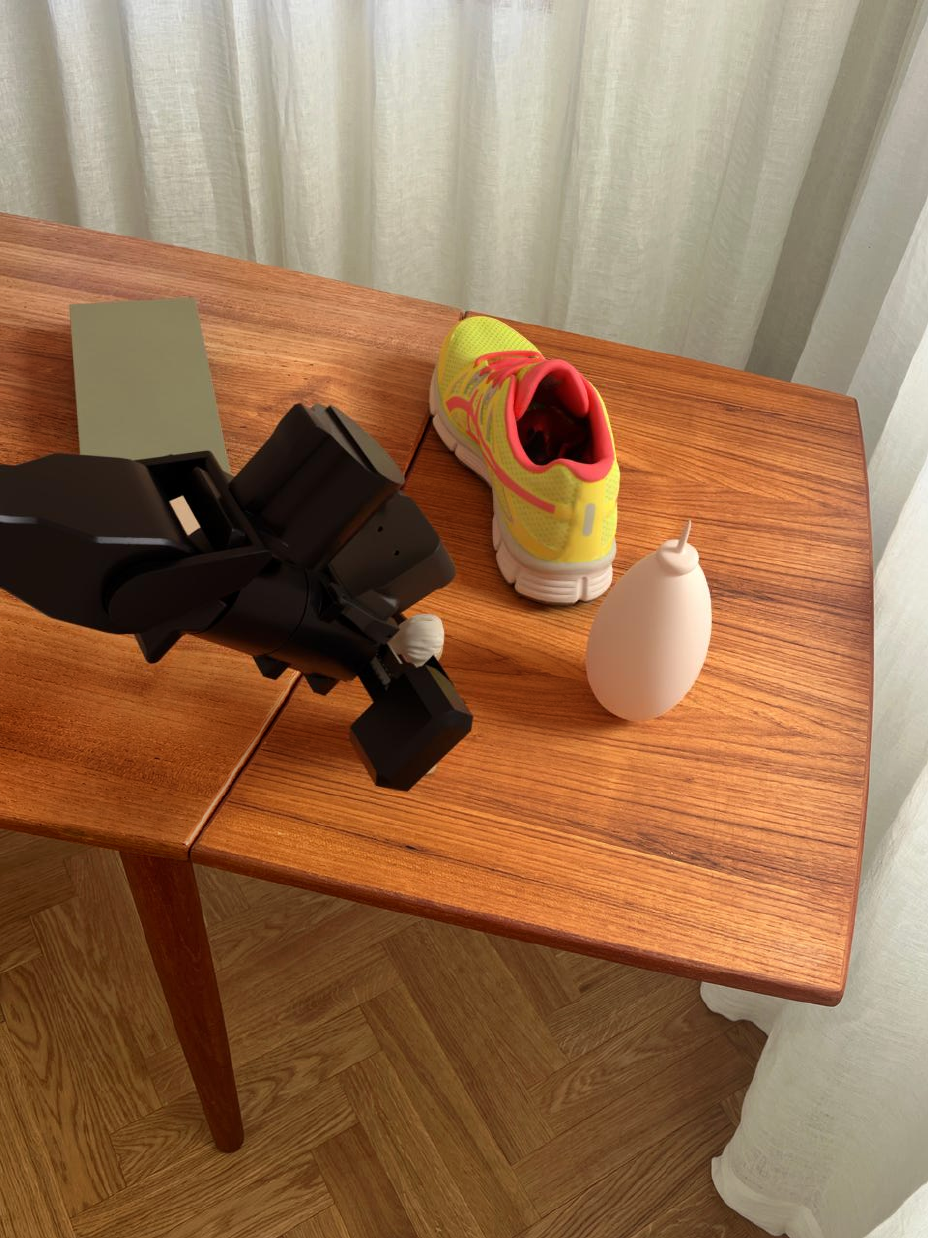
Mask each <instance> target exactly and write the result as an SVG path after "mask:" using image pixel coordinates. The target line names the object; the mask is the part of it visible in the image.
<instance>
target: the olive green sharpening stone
mask: <svg viewBox="0 0 928 1238" xmlns="http://www.w3.org/2000/svg"><path fill="white" fill-rule="evenodd" d="M196 299H197V298H196V297H195V296H190V297H174V298H157V299H156V298H155V299H139V300H138V299H137V300H121V301H119V300H118V301H102V302H86V303H69V304H68V307H69V308H68V309H69V323H70V336H71V337H70V338H71V350H72V351H71V352H72V364H73V365H72V366H73V378H74V390H75V406H76V419H77V432H78V434H77V435H78V446H79V455H92V456H105V457H119V458H125V459H130V460H139V459H147V458H154V457H161V456H166V455H170V454H172V455H176V454H184V453H191V452H198V451H206V450H208V451H211V452H212V453H213V454H214V456H215V458H216V459H217V461H218V463H219V464H220V466H221V468H222V469H223V471H225V472H227V473H229V474H231V475H232V473H231V468H230V463H229V458H228V453H227V449H226V443H225V438H224V433H223V428H222V423H221V418H220V414H219V413H220V412H219V409H218V404H217V399H216V394H215V388H214V384H213V383H214V382H213V378H212V374H211V369H210V364H209V359H208V354H207V349H206V344H205V339H204V333H203V330H202V329H203V328H202V323H201V320H200V314H199V308H198V304H197V300H196ZM170 503H171V505H172V507H173V509H174V511H175V513H176V514H177V516H178V518H179V520H180V522H181V524H182V525H183V527H184V529H185V531H186V533H187V535H190V534H191V533H192V532H194V531H195V530H197V529H198V528H200V526H199V524H198V522H197V520H196V518H195V517H194V515H193V513H192V511H191V509H190V508H189V506H188V504H187V502H186V500H185V499H184V497H183V496H181V497H179V498H176V499H174V500H171V501H170Z"/></svg>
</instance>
